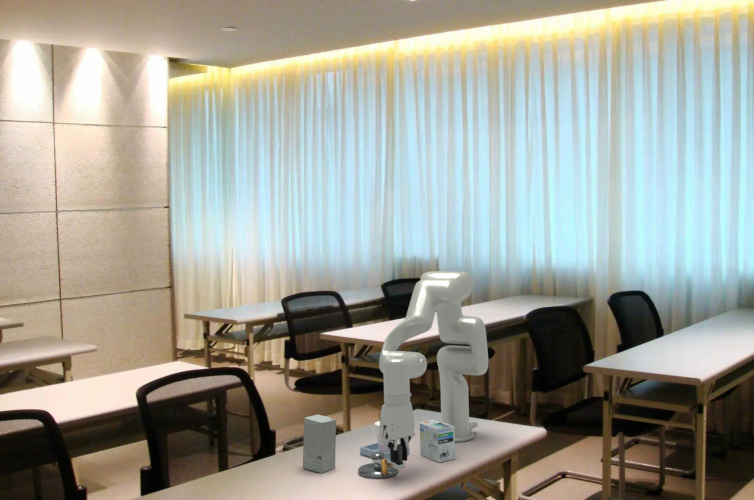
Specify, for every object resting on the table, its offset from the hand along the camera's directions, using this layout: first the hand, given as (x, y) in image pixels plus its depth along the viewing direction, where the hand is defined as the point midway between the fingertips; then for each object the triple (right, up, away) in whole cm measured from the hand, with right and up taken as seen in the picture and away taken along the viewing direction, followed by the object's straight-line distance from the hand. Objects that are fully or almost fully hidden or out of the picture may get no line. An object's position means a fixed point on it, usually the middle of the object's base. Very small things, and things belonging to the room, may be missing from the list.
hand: (398, 460), depth 236 cm
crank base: (-6, -5, +7) cm, 10 cm away
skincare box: (-24, -6, +12) cm, 27 cm away
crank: (-3, -2, +4) cm, 5 cm away
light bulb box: (+13, -4, +20) cm, 24 cm away
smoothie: (-4, -4, +24) cm, 24 cm away
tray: (-4, -4, +24) cm, 25 cm away
